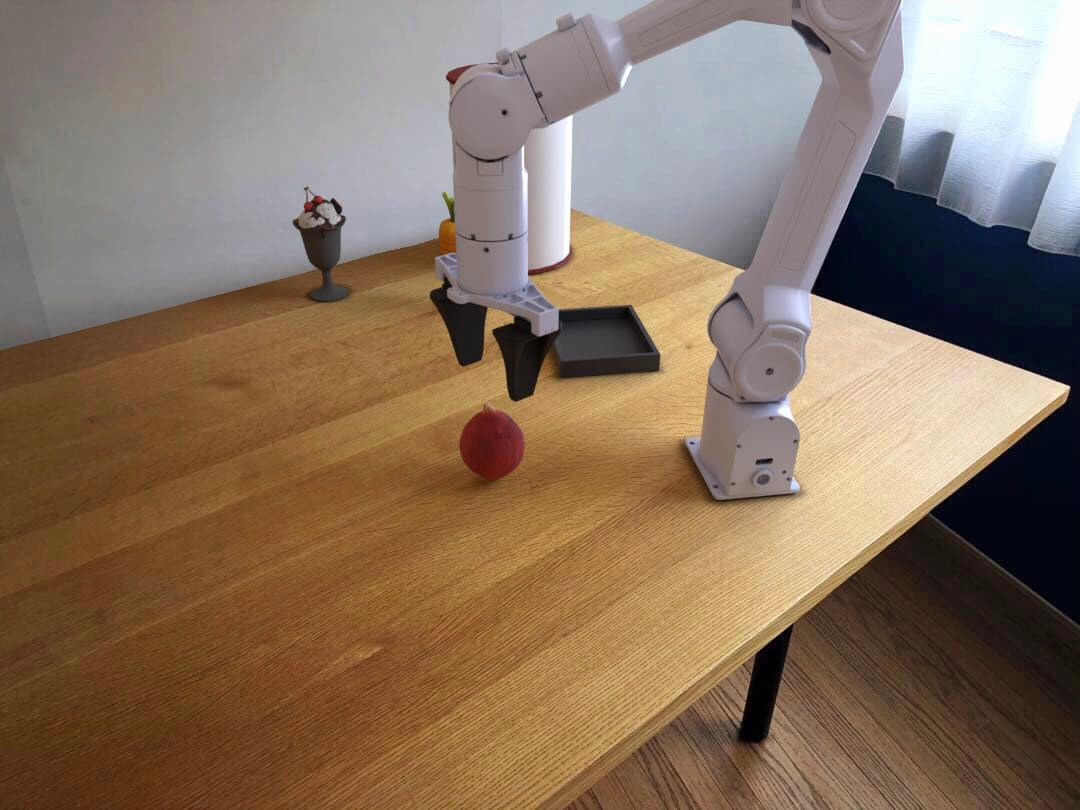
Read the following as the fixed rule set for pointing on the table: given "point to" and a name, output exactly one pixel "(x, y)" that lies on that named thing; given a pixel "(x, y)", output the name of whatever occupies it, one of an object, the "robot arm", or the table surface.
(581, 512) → the table surface
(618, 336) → the tray
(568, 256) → the container
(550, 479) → the table surface
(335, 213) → the sundae
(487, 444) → the onion
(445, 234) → the carrot
